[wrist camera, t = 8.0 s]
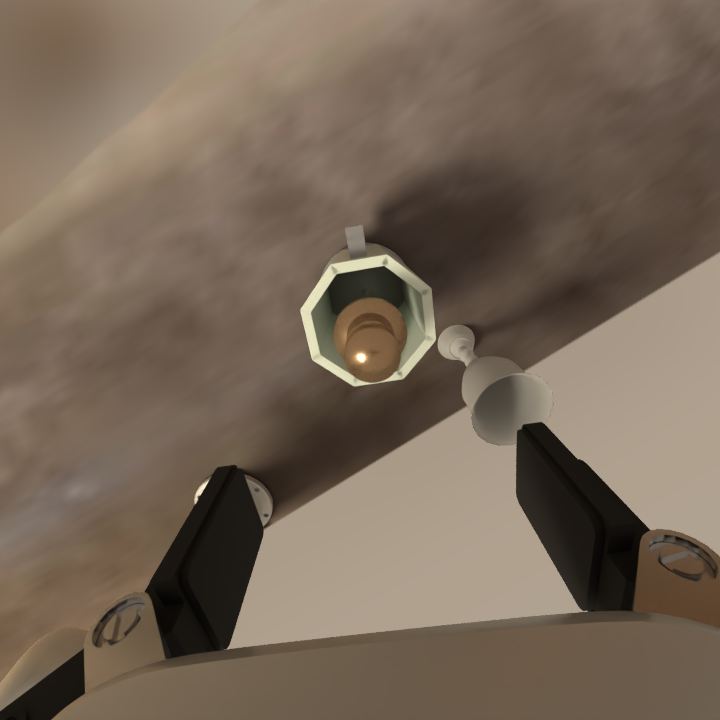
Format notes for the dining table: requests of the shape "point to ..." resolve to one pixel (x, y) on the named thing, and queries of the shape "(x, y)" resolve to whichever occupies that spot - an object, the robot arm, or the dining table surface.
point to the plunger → (370, 338)
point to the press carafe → (385, 281)
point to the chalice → (496, 389)
